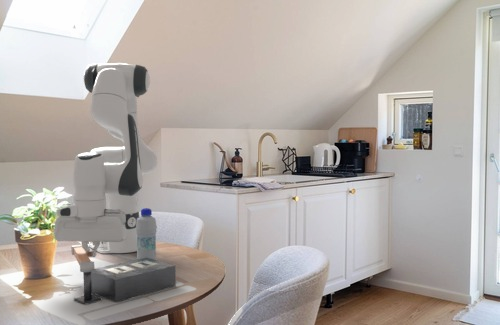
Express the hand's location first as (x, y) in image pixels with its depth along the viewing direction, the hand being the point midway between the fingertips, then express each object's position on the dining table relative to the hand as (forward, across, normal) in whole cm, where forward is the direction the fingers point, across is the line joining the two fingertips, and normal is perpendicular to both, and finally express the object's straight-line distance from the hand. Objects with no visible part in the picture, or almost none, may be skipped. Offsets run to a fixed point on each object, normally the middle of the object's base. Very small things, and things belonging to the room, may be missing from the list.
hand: (91, 256), depth 149 cm
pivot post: (+9, -4, +12) cm, 15 cm away
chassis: (+9, -12, +1) cm, 15 cm away
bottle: (+9, -11, -19) cm, 24 cm away
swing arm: (+1, +1, +3) cm, 3 cm away
